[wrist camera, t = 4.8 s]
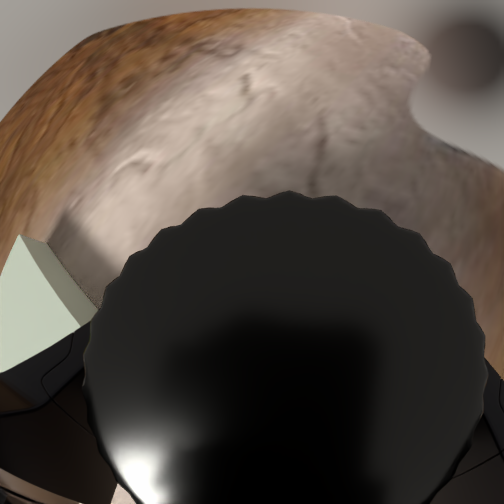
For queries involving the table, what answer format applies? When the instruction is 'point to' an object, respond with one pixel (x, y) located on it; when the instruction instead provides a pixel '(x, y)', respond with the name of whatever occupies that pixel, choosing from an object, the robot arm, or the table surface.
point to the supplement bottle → (285, 360)
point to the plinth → (37, 302)
